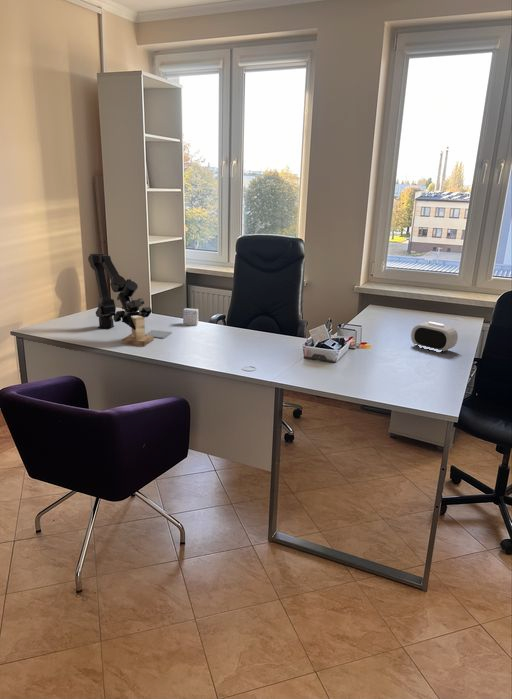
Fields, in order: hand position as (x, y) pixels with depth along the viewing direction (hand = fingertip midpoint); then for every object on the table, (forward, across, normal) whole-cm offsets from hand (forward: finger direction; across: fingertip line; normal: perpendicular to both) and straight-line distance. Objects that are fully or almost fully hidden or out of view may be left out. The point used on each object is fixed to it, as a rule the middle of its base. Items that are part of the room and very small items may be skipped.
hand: (139, 328), depth 244 cm
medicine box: (-5, +41, +15) cm, 44 cm away
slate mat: (0, +15, +10) cm, 18 cm away
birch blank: (+2, 0, +4) cm, 5 cm away
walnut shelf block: (+4, 0, +6) cm, 7 cm away
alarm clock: (+71, +114, -61) cm, 147 cm away
